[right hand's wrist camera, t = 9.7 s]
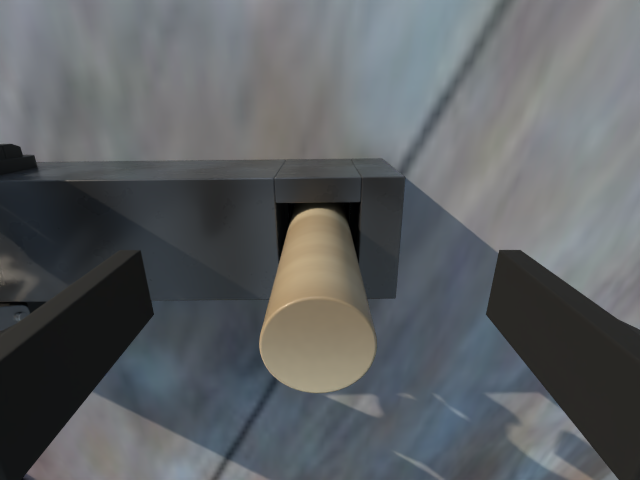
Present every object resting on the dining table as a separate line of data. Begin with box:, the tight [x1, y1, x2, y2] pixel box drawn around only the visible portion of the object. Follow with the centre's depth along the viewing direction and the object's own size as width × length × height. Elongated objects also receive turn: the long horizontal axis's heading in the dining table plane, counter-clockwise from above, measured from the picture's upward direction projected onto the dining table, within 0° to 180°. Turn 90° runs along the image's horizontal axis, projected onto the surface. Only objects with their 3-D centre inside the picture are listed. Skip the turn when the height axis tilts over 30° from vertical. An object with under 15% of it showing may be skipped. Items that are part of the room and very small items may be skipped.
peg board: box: [0, 159, 405, 302], centre depth 20 cm, size 24×6×6 cm, turn 91°
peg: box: [259, 202, 377, 393], centre depth 16 cm, size 3×3×14 cm
